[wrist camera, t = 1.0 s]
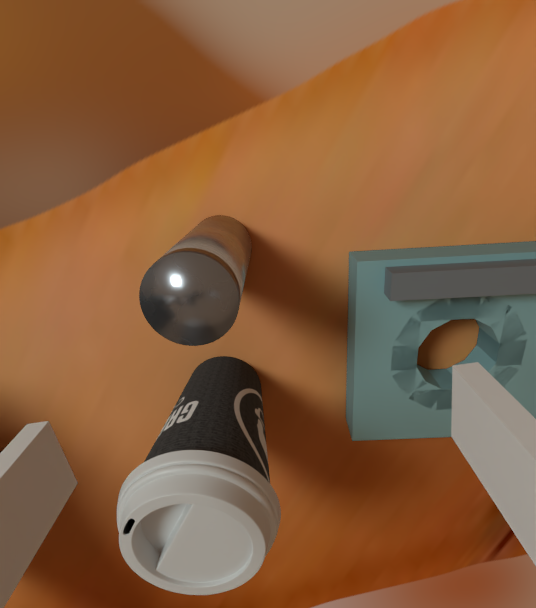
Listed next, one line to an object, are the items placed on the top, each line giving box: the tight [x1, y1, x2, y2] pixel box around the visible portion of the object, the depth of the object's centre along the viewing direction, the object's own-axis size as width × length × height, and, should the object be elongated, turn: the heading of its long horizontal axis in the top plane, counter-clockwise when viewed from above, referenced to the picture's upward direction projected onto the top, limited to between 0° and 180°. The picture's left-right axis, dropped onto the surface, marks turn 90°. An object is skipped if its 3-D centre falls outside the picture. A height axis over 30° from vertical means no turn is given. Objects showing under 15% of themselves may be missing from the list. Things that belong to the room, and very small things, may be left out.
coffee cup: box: [117, 357, 281, 595], centre depth 27 cm, size 10×10×15 cm
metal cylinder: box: [139, 215, 252, 346], centre depth 23 cm, size 5×5×12 cm
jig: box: [346, 241, 536, 441], centre depth 30 cm, size 16×16×5 cm
